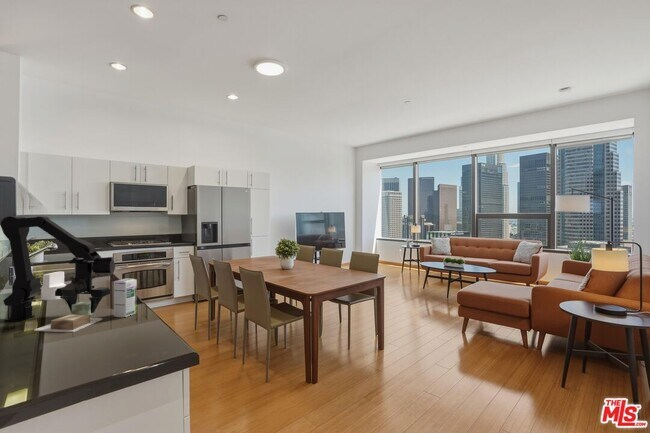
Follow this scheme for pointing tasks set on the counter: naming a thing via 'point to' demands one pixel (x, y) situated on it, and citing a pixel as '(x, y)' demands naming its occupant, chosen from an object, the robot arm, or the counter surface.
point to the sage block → (81, 308)
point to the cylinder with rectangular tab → (52, 285)
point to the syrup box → (125, 297)
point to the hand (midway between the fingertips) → (82, 313)
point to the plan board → (69, 323)
